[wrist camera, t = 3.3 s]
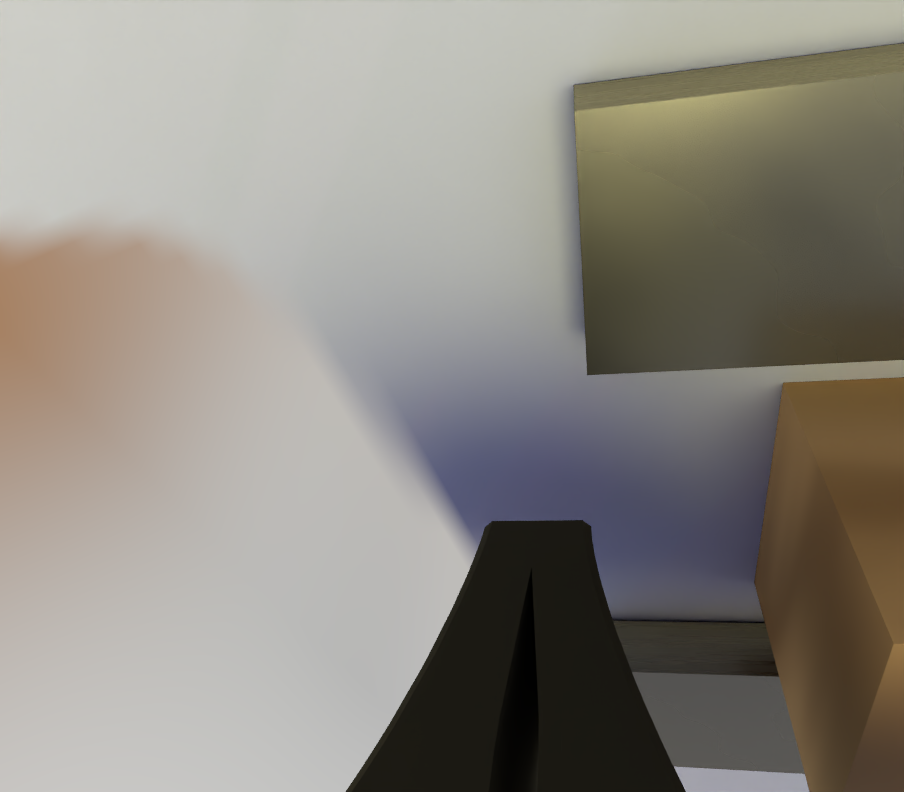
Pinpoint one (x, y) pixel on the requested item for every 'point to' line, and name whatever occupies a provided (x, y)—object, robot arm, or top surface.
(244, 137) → the top surface
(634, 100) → the slot rails
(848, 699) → the block
